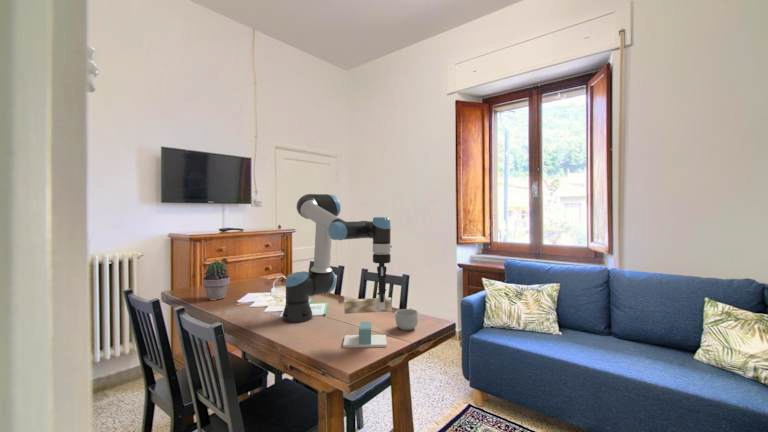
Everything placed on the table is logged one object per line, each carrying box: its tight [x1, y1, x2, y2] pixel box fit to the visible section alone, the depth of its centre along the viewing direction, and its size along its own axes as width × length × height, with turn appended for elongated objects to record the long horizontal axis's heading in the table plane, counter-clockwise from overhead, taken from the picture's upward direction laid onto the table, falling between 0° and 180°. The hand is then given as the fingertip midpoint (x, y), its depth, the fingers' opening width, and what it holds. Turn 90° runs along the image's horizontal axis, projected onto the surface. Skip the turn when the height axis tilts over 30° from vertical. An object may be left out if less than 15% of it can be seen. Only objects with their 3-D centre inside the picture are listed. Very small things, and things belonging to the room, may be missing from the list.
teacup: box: [394, 308, 419, 331], centre depth 167 cm, size 14×11×8 cm
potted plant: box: [200, 257, 231, 300], centre depth 218 cm, size 18×20×25 cm
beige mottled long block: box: [343, 297, 393, 315], centre depth 148 cm, size 20×4×5 cm, turn 92°
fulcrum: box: [342, 321, 388, 348], centre depth 148 cm, size 18×11×7 cm, turn 92°
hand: (381, 307), depth 148 cm, fingers closed on beige mottled long block, 3 cm apart
